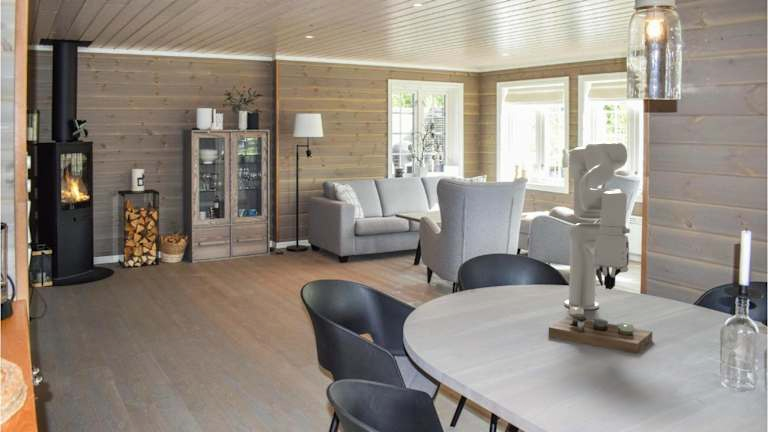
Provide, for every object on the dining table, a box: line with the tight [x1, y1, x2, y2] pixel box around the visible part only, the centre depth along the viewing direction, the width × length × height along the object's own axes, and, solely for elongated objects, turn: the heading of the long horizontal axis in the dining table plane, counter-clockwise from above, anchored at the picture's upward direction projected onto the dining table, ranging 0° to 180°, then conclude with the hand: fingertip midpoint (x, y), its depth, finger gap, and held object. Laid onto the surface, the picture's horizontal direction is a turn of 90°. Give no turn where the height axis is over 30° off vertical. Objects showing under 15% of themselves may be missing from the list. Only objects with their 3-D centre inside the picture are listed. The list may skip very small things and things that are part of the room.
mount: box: [548, 316, 654, 354], centre depth 224 cm, size 16×28×3 cm, turn 54°
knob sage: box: [618, 322, 634, 336], centre depth 219 cm, size 4×4×5 cm
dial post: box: [576, 315, 588, 333], centre depth 220 cm, size 3×3×5 cm
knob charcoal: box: [592, 318, 609, 331], centre depth 223 cm, size 4×4×5 cm
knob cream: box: [568, 307, 585, 325], centre depth 228 cm, size 4×4×5 cm
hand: (609, 288), depth 221 cm, fingers closed
